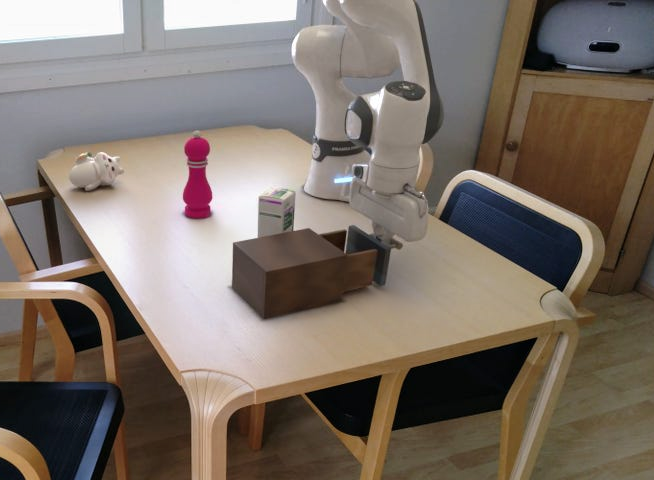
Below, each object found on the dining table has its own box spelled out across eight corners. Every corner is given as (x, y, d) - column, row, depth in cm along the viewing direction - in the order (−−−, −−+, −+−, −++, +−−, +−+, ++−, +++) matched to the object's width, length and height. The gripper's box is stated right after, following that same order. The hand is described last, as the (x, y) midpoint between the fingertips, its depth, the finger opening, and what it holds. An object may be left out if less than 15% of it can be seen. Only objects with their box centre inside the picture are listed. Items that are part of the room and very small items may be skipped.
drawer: (369, 255, 142) (374, 220, 138) (406, 280, 132) (413, 243, 128) (283, 274, 136) (285, 237, 132) (315, 301, 126) (319, 263, 122)
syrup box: (281, 266, 141) (285, 199, 133) (255, 260, 144) (258, 194, 135) (292, 256, 145) (297, 190, 137) (267, 250, 147) (270, 185, 139)
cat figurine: (65, 156, 176) (118, 141, 180) (61, 164, 184) (112, 150, 188) (77, 192, 177) (130, 176, 181) (73, 198, 185) (123, 183, 189)
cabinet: (305, 271, 139) (309, 227, 133) (341, 301, 128) (347, 254, 123) (231, 287, 134) (232, 242, 128) (263, 319, 123) (266, 271, 118)
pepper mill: (209, 220, 162) (210, 135, 151) (180, 218, 164) (178, 134, 153) (214, 208, 168) (214, 126, 157) (186, 207, 170) (184, 126, 158)
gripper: (443, 191, 119) (428, 263, 126) (374, 158, 135) (365, 224, 142) (413, 197, 117) (400, 269, 125) (347, 163, 133) (339, 229, 140)
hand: (381, 245), depth 134 cm, fingers closed, pressing on drawer
